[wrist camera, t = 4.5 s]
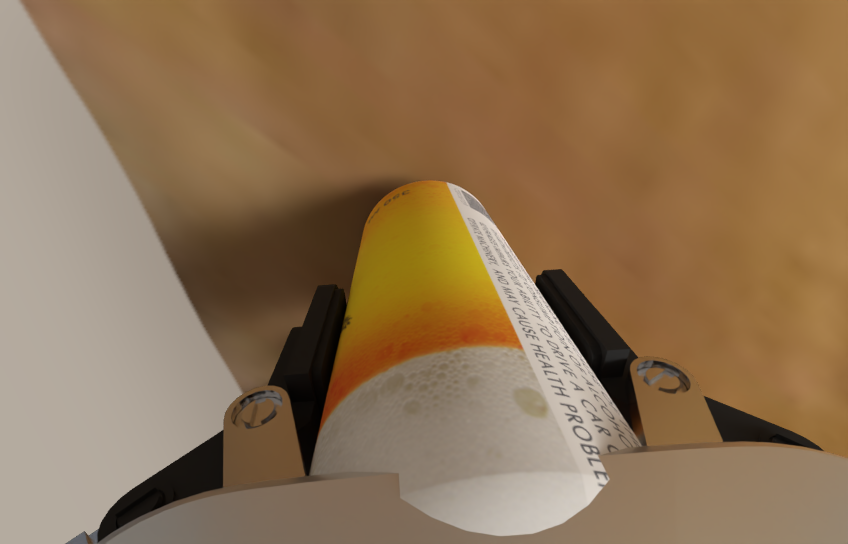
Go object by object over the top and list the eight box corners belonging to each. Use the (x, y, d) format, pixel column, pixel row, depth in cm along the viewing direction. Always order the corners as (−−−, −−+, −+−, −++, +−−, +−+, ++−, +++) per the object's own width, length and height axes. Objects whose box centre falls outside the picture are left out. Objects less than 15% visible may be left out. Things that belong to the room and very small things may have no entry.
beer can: (340, 256, 18) (176, 773, 5) (408, 148, 16) (470, 537, 2) (441, 310, 20) (532, 788, 6) (514, 220, 17) (878, 662, 4)
